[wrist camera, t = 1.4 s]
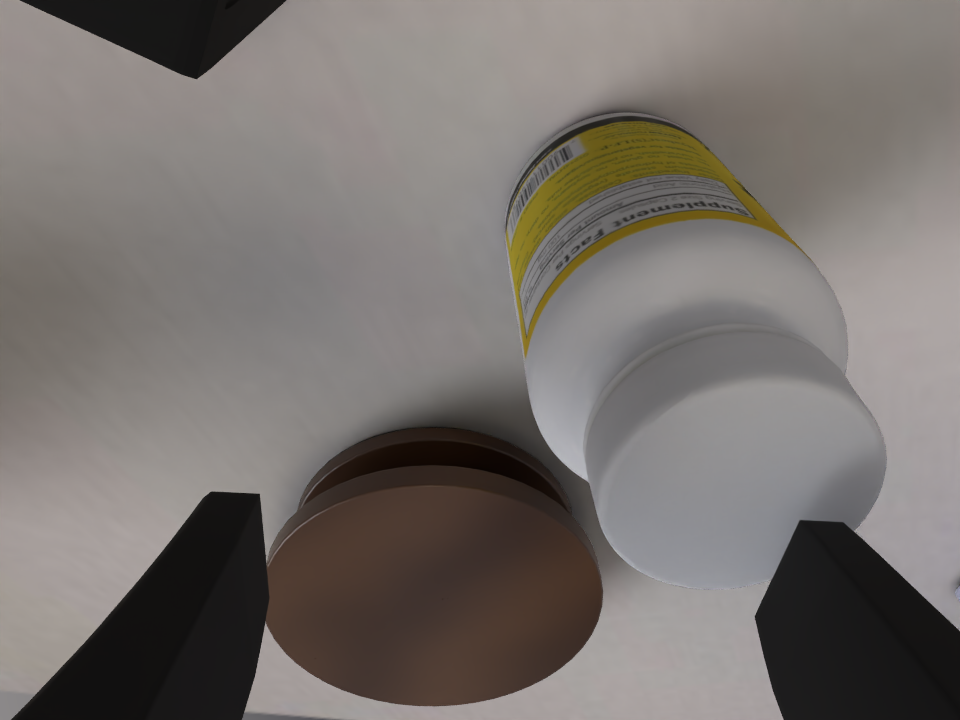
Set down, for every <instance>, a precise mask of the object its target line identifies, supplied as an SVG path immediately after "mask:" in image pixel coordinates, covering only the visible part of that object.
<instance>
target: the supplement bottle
mask: <svg viewBox="0 0 960 720" xmlns="http://www.w3.org/2000/svg"><path fill="white" fill-rule="evenodd" d="M505 245H506V252H507V259H508V266H509V272H510V278H511V284H512V290H513V297H514V303H515V309H516V315H517V322H518V328H519V334H520V340H521V346H522V352H523V359H524V366H525V373H526V380H527V387H528V392H529V398H530V403H531V407H532V411H533V414H534V417H535V420H536V423H537V425H538V427H539V430H540V432H541V434H542V436H543V437H544V439H545V441H546V442H547V444H548V445H549V447H550V448H551V450H552V451H553V452H554V454H555V455H556V456H557V457H558V458H559V459H560V460H561V461H562V462H563V463H564V464H565V465H566V466H567V467H568V468H569V469H570V470H572V471H573V472H574V473H576V474H577V475H578V476H580V477H581V478H583V479H584V480H586V481H587V482H589V484H590V488H591V492H592V497H593V500H594V504H595V508H596V512H597V516H598V520H599V523H600V526H601V529H602V531H603V533H604V535H605V537H606V539H607V540H608V542H609V543H610V545H611V546H612V548H613V549H614V550H615V552H616V553H617V554H618V555H619V556H620V557H621V558H622V559H623V560H624V561H626V562H627V563H628V564H629V565H630V566H632V567H633V568H635V569H636V570H638V571H639V572H641V573H643V574H645V575H647V576H649V577H651V578H653V579H656V580H658V581H661V582H664V583H668V584H671V585H675V586H680V587H685V588H692V589H704V590H712V589H734V588H742V587H746V586H750V585H755V584H760V583H764V582H767V581H770V580H772V578H773V576H774V574H775V572H776V570H777V568H778V565H779V563H780V561H781V559H782V557H783V555H784V553H785V550H786V548H787V546H788V544H789V542H790V540H791V538H792V535H793V533H794V531H795V529H796V527H797V525H798V523H799V520H812V521H833V522H844V523H845V524H846V525H847V526H848V527H849V528H850V529H852V530H853V531H854V530H855V529H856V528H857V527H858V526H859V525H860V524H861V522H862V521H863V520H864V519H865V517H866V516H867V515H868V513H869V512H870V510H871V508H872V507H873V505H874V503H875V502H876V500H877V498H878V495H879V493H880V490H881V488H882V485H883V481H884V476H885V471H886V462H887V457H886V446H885V442H884V439H883V436H882V433H881V430H880V428H879V426H878V424H877V422H876V420H875V418H874V417H873V415H872V414H871V412H870V411H869V410H868V408H867V407H866V406H865V404H864V403H863V402H862V400H861V399H860V397H859V396H858V395H857V393H856V392H855V390H854V389H853V388H852V386H851V384H850V383H849V381H848V379H847V378H846V377H845V372H846V366H847V360H848V339H847V328H846V323H845V319H844V315H843V312H842V308H841V306H840V304H839V302H838V300H837V298H836V295H835V293H834V291H833V290H832V288H831V286H830V285H829V283H828V282H827V280H826V279H825V277H824V276H823V275H822V274H821V272H820V271H819V269H818V268H817V266H816V265H815V264H814V263H813V261H812V260H811V259H810V258H809V257H808V256H807V255H806V254H805V253H804V252H803V251H802V249H801V248H800V247H799V246H798V245H797V244H796V243H795V242H794V241H793V240H792V239H791V238H790V237H789V236H788V235H787V233H786V232H785V231H784V230H783V229H782V228H781V227H780V226H779V225H778V224H777V223H776V222H775V220H774V219H773V218H772V217H771V216H770V215H769V214H768V213H767V212H766V211H765V210H764V208H763V207H762V206H761V205H760V204H759V203H758V202H757V201H756V199H755V198H754V197H753V196H752V195H751V194H750V193H749V192H748V191H747V190H746V189H745V188H744V187H743V185H742V184H741V183H740V182H739V181H738V180H737V179H736V178H735V177H734V176H733V175H732V174H731V172H730V171H729V170H728V169H727V168H726V167H725V166H724V165H723V164H722V163H721V162H720V161H719V159H718V158H717V157H716V156H715V155H714V154H713V153H712V152H711V151H710V150H709V149H708V148H707V147H706V146H705V145H704V144H703V143H702V142H701V141H700V140H699V139H697V138H696V137H695V136H694V135H693V134H691V133H690V132H689V131H687V130H686V129H684V128H683V127H681V126H679V125H677V124H675V123H673V122H671V121H668V120H666V119H663V118H660V117H656V116H652V115H648V114H641V113H623V112H622V113H611V114H606V115H601V116H597V117H593V118H589V119H586V120H583V121H581V122H578V123H576V124H574V125H572V126H570V127H568V128H566V129H564V130H562V131H561V132H560V133H558V134H557V135H555V136H554V137H552V138H551V139H550V140H549V141H547V142H546V143H545V144H544V145H543V146H542V147H540V148H539V149H538V150H537V151H536V153H535V154H534V155H533V156H532V157H531V158H530V160H529V161H528V162H527V164H526V165H525V166H524V168H523V169H522V171H521V173H520V174H519V176H518V178H517V180H516V182H515V184H514V186H513V188H512V191H511V193H510V196H509V200H508V204H507V208H506V215H505Z"/></svg>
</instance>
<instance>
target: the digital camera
mask: <svg viewBox="0 0 960 720" xmlns="http://www.w3.org/2000/svg"><path fill="white" fill-rule="evenodd" d="M20 1H22V2H25V3H27V4H29V5H31V6H33V7H35V8H38V9H40V10H42V11H44V12H46V13H49V14H51V15H53V16H55V17H57V18H60V19H62V20H64V21H66V22H68V23H71V24H73V25H75V26H77V27H79V28H81V29H84V30H86V31H88V32H90V33H92V34H95V35H97V36H99V37H101V38H103V39H106V40H108V41H110V42H112V43H114V44H116V45H119V46H121V47H123V48H125V49H127V50H130V51H132V52H134V53H136V54H138V55H141V56H143V57H145V58H147V59H149V60H152V61H154V62H156V63H158V64H160V65H162V66H164V67H166V68H168V69H171V70H173V71H175V72H177V73H179V74H182V75H185V76H188V77H191V78H194V79H198V78H199V77H200V76H202V75H203V74H204V73H205V72H207V71H208V70H209V69H211V68H212V67H213V66H214V65H215V64H216V63H217V62H219V61H220V60H221V59H222V58H223V57H224V56H225V55H226V54H227V53H229V52H230V51H231V50H232V49H233V48H234V47H235V46H236V45H237V44H239V43H240V42H241V41H242V40H243V39H244V38H245V37H246V36H247V35H248V34H250V33H251V32H252V31H253V30H254V29H255V28H256V27H257V26H258V25H260V24H261V23H262V22H263V21H264V20H265V19H266V18H267V17H268V16H270V15H271V14H272V13H273V12H274V11H275V10H276V9H277V8H278V7H280V6H281V5H282V4H283V3H284V2H285V1H286V0H20Z"/></svg>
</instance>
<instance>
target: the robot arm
mask: <svg viewBox="0 0 960 720" xmlns="http://www.w3.org/2000/svg"><path fill="white" fill-rule="evenodd" d="M955 595H956V597H957V599H958V600H959V602H960V586H959V587H958V588H957V589H956V591H955ZM269 599H270V596H269V586H268V576H267V565H266V555H265V544H264V534H263V523H262V513H261V502H260V494H251V493H231V492H210V493H209V494H208V495H206V496H205V497H204V498H203V499H202V500H201V502H200V503H199V504H198V506H197V507H196V508H195V510H194V511H193V512H192V514H191V515H190V516H189V518H188V519H187V520H186V522H185V523H184V524H183V525H182V527H181V528H180V529H179V531H178V532H177V533H176V535H175V536H174V537H173V538H172V540H171V541H170V542H169V544H168V545H167V546H166V547H165V549H164V550H163V551H162V552H161V554H160V555H159V556H158V557H157V559H156V560H155V561H154V562H153V563H152V565H151V566H150V567H149V568H148V570H147V571H146V572H145V573H144V575H143V576H142V577H141V578H140V579H139V581H138V582H137V583H136V584H135V585H134V586H133V588H132V589H131V590H130V591H129V592H128V593H127V595H126V596H125V597H124V598H123V599H122V600H121V602H120V603H119V604H118V605H117V606H116V607H115V609H114V610H113V611H112V612H111V613H110V614H109V615H108V617H107V618H106V619H105V620H104V621H103V622H102V624H101V625H100V626H99V627H98V628H97V629H96V631H95V632H94V633H93V634H92V635H91V636H90V637H89V638H88V639H87V641H86V642H85V643H84V644H83V645H82V646H81V647H80V648H79V649H78V650H77V651H76V652H75V654H74V655H73V656H72V657H71V658H70V659H69V660H68V661H67V662H66V663H65V664H64V665H63V666H62V667H61V668H60V669H59V670H58V672H57V673H56V674H55V675H54V676H53V677H52V678H51V679H50V680H49V681H48V682H47V683H46V684H45V685H44V686H43V687H42V688H41V690H40V691H39V692H38V693H37V694H36V695H35V696H34V697H33V698H32V699H31V700H30V701H29V702H28V703H27V704H26V705H25V707H23V708H22V709H21V711H19V712H18V714H16V715H15V716H14V717H13V718H12V719H11V720H242V718H243V714H244V711H245V708H246V704H247V701H248V698H249V694H250V691H251V687H252V684H253V681H254V677H255V673H256V668H257V663H258V658H259V653H260V648H261V643H262V637H263V632H264V626H265V621H266V615H267V610H268V604H269ZM755 620H756V624H757V629H758V633H759V637H760V642H761V646H762V650H763V655H764V659H765V662H766V666H767V670H768V674H769V677H770V681H771V685H772V689H773V692H774V695H775V697H776V700H777V703H778V706H779V708H780V711H781V714H782V716H783V719H784V720H960V631H959V630H958V629H957V628H956V627H955V626H954V625H953V624H952V623H950V622H949V621H948V620H947V619H946V618H945V617H944V616H943V615H942V614H941V613H940V612H939V611H938V610H937V609H936V608H935V607H934V606H932V605H931V604H930V603H929V602H928V601H927V600H926V599H925V598H924V597H923V596H922V595H921V594H920V593H919V592H918V591H917V590H916V589H915V588H914V587H913V586H911V585H910V584H909V583H908V582H907V581H906V580H905V579H904V578H903V577H902V576H901V575H900V574H899V573H898V572H897V571H896V570H895V569H894V568H893V567H891V566H890V565H889V564H888V563H887V562H886V561H885V560H884V559H883V558H882V557H881V556H880V555H879V554H878V553H877V552H876V551H875V550H873V549H872V548H871V547H870V546H869V545H868V544H867V543H866V542H865V541H864V540H863V539H862V538H860V537H859V536H858V535H857V534H856V533H855V532H854V531H853V530H852V529H850V528H849V527H848V526H847V525H846V524H845V523H844V522H833V521H812V520H799V523H798V525H797V527H796V529H795V531H794V533H793V535H792V538H791V540H790V542H789V544H788V546H787V548H786V550H785V553H784V555H783V557H782V559H781V561H780V563H779V565H778V568H777V570H776V572H775V574H774V576H773V578H772V580H771V583H770V585H769V587H768V589H767V591H766V593H765V595H764V598H763V600H762V602H761V604H760V606H759V608H758V610H757V613H756V615H755Z"/></svg>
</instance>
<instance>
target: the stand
mask: <svg viewBox="0 0 960 720" xmlns="http://www.w3.org/2000/svg"><path fill="white" fill-rule="evenodd" d="M266 565H267V576H268V586H269V596H270V599H269V604H268V610H267V615H266V624H267V626H268V628H269V630H270V632H271V634H272V635H273V637H274V639H275V641H276V642H277V643H278V644H279V646H280V647H281V648H282V649H283V651H284V652H285V653H286V654H287V655H288V656H289V657H290V658H291V659H292V660H293V661H294V662H296V663H297V664H298V665H299V666H301V667H302V668H303V669H305V670H306V671H307V672H309V673H310V674H312V675H314V676H315V677H317V678H319V679H321V680H322V681H324V682H326V683H328V684H330V685H332V686H335V687H337V688H339V689H341V690H344V691H347V692H350V693H353V694H355V695H358V696H362V697H366V698H370V699H373V700H377V701H383V702H389V703H394V704H403V705H413V706H449V705H461V704H468V703H476V702H481V701H485V700H490V699H495V698H498V697H501V696H505V695H508V694H511V693H514V692H517V691H519V690H522V689H524V688H527V687H529V686H531V685H533V684H535V683H537V682H539V681H541V680H543V679H545V678H547V677H548V676H550V675H551V674H553V673H554V672H556V671H557V670H559V669H560V668H561V667H563V666H564V665H565V664H566V663H568V662H569V661H570V660H571V659H572V658H573V657H574V656H575V655H576V654H577V653H578V652H579V651H580V650H581V649H582V648H583V647H584V645H585V644H586V642H587V641H588V639H589V638H590V636H591V635H592V633H593V631H594V629H595V627H596V625H597V622H598V620H599V616H600V612H601V608H602V600H603V587H602V580H601V574H600V569H599V565H598V560H597V556H596V554H595V551H594V548H593V545H592V543H591V541H590V539H589V538H588V536H587V534H586V533H585V531H584V529H583V528H582V527H581V526H580V525H579V523H578V522H577V521H576V520H575V519H574V517H573V516H572V511H571V507H570V504H569V501H568V498H567V496H566V494H565V492H564V490H563V489H562V487H561V485H560V483H559V482H558V481H557V480H556V478H555V477H554V476H553V475H552V473H551V472H550V471H549V470H548V469H547V468H546V467H545V466H544V465H542V464H541V463H540V462H539V461H538V460H537V459H535V458H534V457H532V456H531V455H529V454H528V453H527V452H525V451H524V450H522V449H520V448H518V447H516V446H514V445H512V444H510V443H508V442H506V441H503V440H500V439H498V438H495V437H492V436H489V435H485V434H481V433H477V432H474V431H468V430H461V429H454V428H436V427H430V428H413V429H406V430H400V431H394V432H390V433H386V434H383V435H379V436H376V437H373V438H370V439H368V440H365V441H363V442H360V443H358V444H356V445H354V446H352V447H350V448H348V449H347V450H345V451H343V452H341V453H340V454H339V455H337V456H336V457H334V458H333V459H332V460H330V461H329V462H328V463H327V464H326V465H325V466H324V467H323V468H322V469H321V470H320V471H319V472H318V473H317V474H316V475H315V476H314V477H313V479H312V480H311V481H310V483H309V484H308V485H307V487H306V489H305V491H304V493H303V495H302V497H301V499H300V503H299V506H298V509H297V512H296V513H295V514H294V515H293V516H292V517H291V518H290V519H289V520H288V521H287V523H286V524H285V525H284V527H283V528H282V529H281V531H280V532H279V533H278V535H277V537H276V539H275V541H274V543H273V545H272V547H271V549H270V552H269V556H268V559H267V563H266Z"/></svg>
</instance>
